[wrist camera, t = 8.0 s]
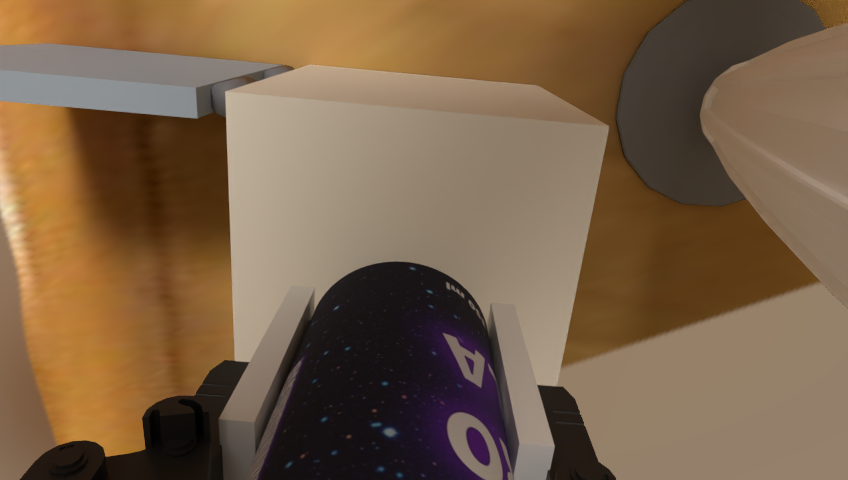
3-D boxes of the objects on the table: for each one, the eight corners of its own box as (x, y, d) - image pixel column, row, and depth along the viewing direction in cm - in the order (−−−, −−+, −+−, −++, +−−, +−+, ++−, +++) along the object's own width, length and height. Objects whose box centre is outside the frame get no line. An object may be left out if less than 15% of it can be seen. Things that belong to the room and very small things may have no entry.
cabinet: (310, 64, 30) (225, 91, 18) (537, 85, 30) (609, 126, 18) (306, 303, 35) (238, 452, 22) (501, 319, 35) (538, 477, 23)
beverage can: (420, 426, 20) (404, 928, 9) (283, 345, 19) (69, 801, 8) (521, 312, 19) (655, 754, 7) (377, 215, 17) (274, 563, 6)
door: (45, 18, 29) (-189, 13, 18) (304, 42, 29) (228, 52, 18) (51, 65, 29) (-168, 89, 19) (304, 88, 30) (230, 124, 19)
